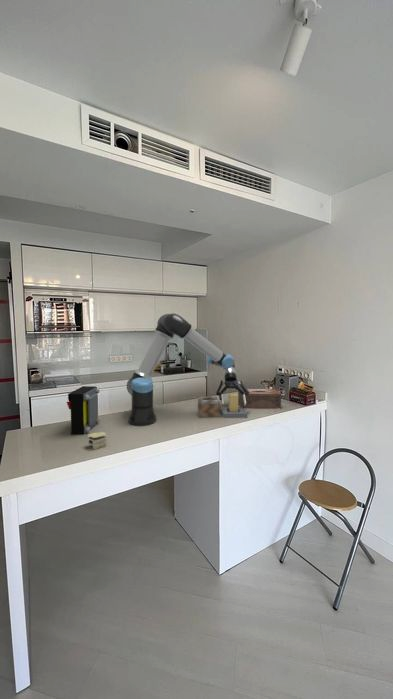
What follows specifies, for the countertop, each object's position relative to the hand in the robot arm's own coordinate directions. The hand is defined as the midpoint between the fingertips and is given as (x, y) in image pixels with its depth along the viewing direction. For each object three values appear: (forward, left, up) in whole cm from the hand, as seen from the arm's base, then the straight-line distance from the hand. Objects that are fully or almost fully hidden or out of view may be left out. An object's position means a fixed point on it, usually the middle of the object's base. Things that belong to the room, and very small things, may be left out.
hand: (234, 404), depth 173 cm
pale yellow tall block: (0, +2, -6) cm, 7 cm away
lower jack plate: (0, +2, -6) cm, 7 cm away
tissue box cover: (+21, +21, -7) cm, 30 cm away
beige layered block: (-69, -43, -7) cm, 81 cm away
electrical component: (-81, -20, -7) cm, 84 cm away
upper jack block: (-15, +2, -6) cm, 17 cm away
